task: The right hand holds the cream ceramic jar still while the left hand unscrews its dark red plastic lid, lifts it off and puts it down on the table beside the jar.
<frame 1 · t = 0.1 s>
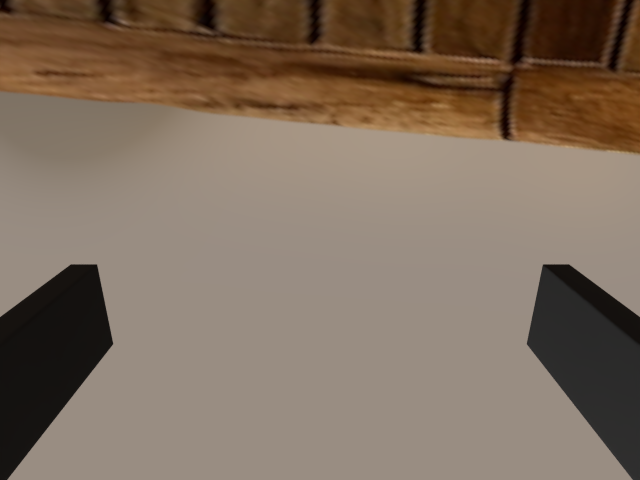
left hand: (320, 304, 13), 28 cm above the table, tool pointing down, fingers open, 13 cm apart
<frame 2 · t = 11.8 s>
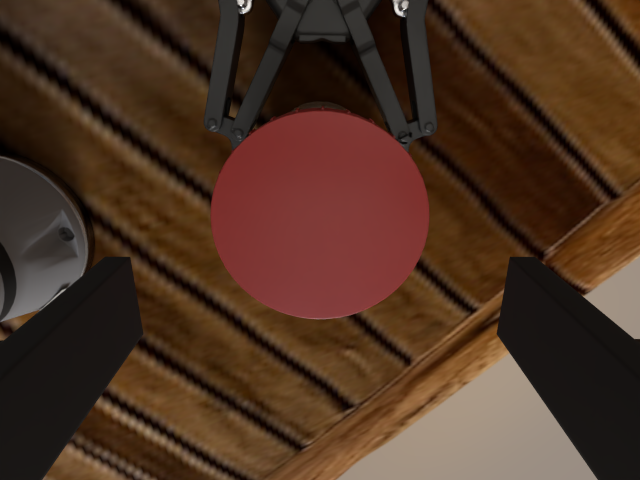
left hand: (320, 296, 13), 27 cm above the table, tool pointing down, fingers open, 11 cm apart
lid: (320, 222, 20), point 19 cm above the table, screwed on, not yet turned
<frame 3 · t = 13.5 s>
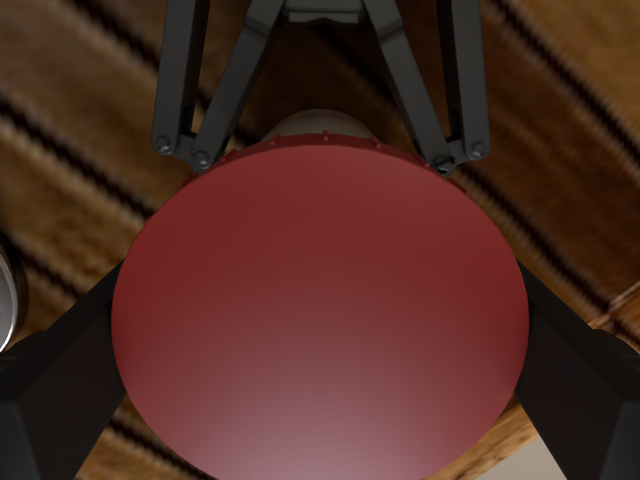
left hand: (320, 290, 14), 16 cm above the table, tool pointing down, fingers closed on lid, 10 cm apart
jar: (320, 179, 29), on the table, touching right hand
lid: (320, 345, 11), point 19 cm above the table, screwed on, not yet turned, touching left hand
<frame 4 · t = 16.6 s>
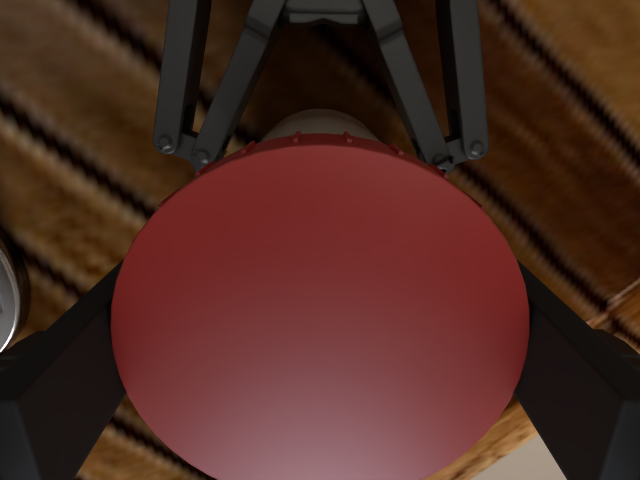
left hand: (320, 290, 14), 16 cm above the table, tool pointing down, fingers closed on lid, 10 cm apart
jar: (320, 178, 29), on the table, touching right hand
lid: (320, 346, 11), point 19 cm above the table, turned 72° so far, risen 0.2 cm, still on its thread, touching left hand
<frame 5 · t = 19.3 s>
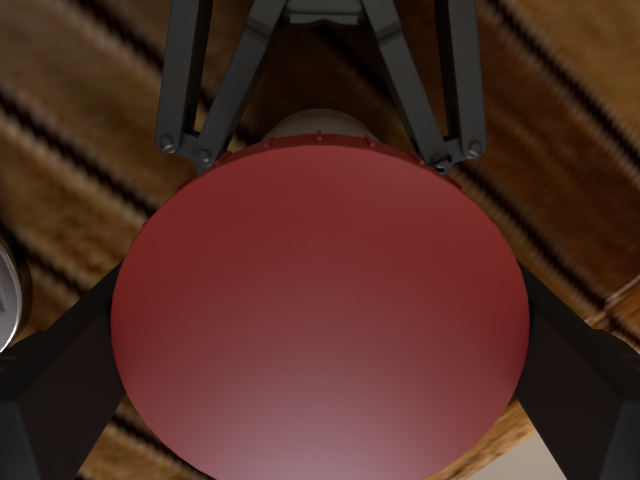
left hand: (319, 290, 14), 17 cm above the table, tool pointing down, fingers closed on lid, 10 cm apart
jar: (320, 177, 29), on the table, touching right hand
lid: (320, 346, 11), point 20 cm above the table, turned 143° so far, risen 0.5 cm, still on its thread, touching left hand
when the left hand's fingers open (0 cm above the table, at t = 26.4 s): lid drops 2 cm, point 2 cm above the table.
when the right hand's fingers open (6 cm above the table, at t = 27.4 s): jar stays where it is, on the table.
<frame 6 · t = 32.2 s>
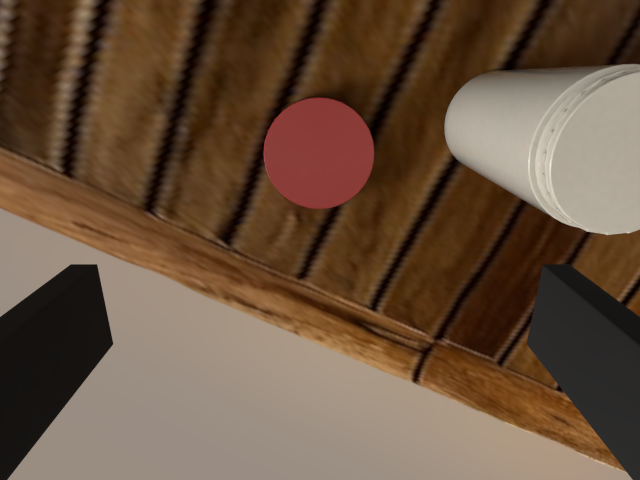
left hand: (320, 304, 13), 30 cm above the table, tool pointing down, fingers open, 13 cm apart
jar: (492, 122, 40), on the table
lid: (319, 155, 39), point 2 cm above the table, off its thread
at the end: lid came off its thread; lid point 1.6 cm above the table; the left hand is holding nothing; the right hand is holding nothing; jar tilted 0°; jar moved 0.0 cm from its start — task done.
